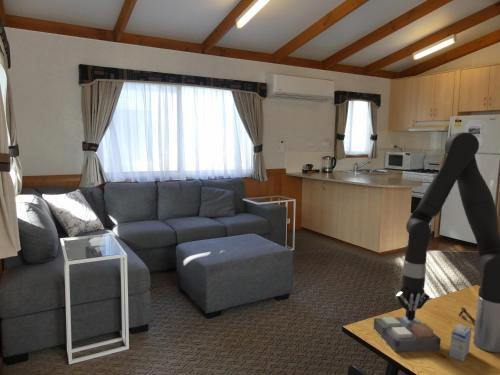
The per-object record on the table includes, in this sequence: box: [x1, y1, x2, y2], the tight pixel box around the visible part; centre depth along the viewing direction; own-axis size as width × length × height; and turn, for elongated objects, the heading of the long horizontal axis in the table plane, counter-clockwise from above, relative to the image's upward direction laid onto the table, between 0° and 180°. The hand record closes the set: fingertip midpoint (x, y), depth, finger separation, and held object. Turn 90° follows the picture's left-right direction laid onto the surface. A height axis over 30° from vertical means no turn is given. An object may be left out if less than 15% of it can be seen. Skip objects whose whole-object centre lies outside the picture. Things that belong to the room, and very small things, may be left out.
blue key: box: [400, 315, 421, 327], centre depth 141 cm, size 5×5×2 cm
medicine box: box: [448, 323, 472, 362], centre depth 128 cm, size 8×4×9 cm, turn 141°
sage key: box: [381, 316, 400, 328], centre depth 140 cm, size 5×5×2 cm
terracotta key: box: [412, 323, 434, 338], centre depth 134 cm, size 5×5×2 cm
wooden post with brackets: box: [458, 306, 476, 326], centre depth 153 cm, size 2×8×4 cm, turn 20°
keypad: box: [373, 316, 442, 353], centre depth 137 cm, size 16×16×4 cm
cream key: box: [391, 327, 412, 339], centre depth 133 cm, size 5×5×2 cm
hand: (409, 319), depth 141 cm, fingers closed
